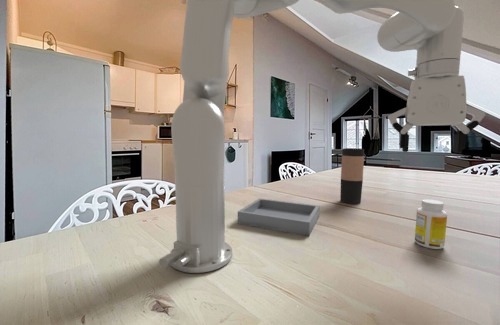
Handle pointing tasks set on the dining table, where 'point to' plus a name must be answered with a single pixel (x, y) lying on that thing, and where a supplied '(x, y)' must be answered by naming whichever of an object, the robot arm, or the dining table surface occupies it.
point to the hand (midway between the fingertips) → (430, 152)
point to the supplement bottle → (431, 224)
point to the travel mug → (352, 175)
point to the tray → (280, 216)
